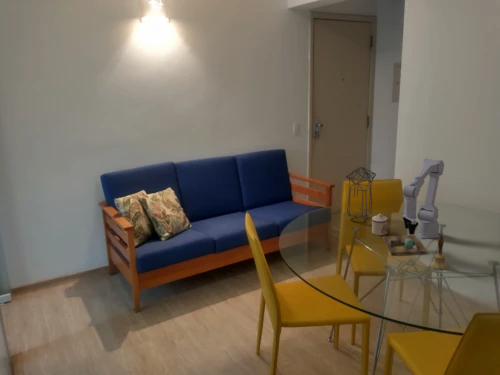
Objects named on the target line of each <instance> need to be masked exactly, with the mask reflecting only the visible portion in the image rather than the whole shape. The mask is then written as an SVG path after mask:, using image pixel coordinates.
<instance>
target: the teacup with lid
mask: <svg viewBox="0 0 500 375" xmlns="http://www.w3.org/2000/svg"><path fill="white" fill-rule="evenodd" d="M388 220H389V219H388V217H387V216H385V215H382V214H381V213H378V214H377V215H374V216H372V217H371V232H372V234H373V235H375V236H385V235H387V234H388Z"/></svg>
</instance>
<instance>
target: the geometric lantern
mask: <svg viewBox="0 0 500 375" xmlns="http://www.w3.org/2000/svg"><path fill="white" fill-rule="evenodd" d="M362 174H363V175H362ZM376 175H377V173H375V172H373V171H371V170H370V169H367V168H366V167H363V166H359V167H356V169H354V170H352V171H351V172H350V173H348V174H347V175H345V178H347V179H348V188H349V190H348V198H347V205H346V206H347V208H346V215H347V216H349V217H350V216H351V217H354V216H356V217H357V218H360V219H364V220H365V219H366V217H367V218H368V217H369V215H371V214H372V213H373V198H372V196H373V195H372V185H373V181H374V179H375V178H376ZM356 176H357V178H355V177H356ZM360 176H361V178H359V177H360ZM363 178H364V179H363ZM355 180H356V182H355ZM366 181H368V184H364V186H365V189H364V190H363V188H362V186H363V184H361V183H364V182H366ZM351 182H352V184H351ZM353 186H354V188H352V187H353ZM356 187H357V189H356ZM359 188H360V189H359ZM351 190H352V191H353V197H354V196H355V194H356V197H357V196H358V197H359V191H360V192H362V196H361V197H362V198H361V201H362V203H361V209H362V210H361V214H362V215H360V216H361V217H360V216H359V215H356V214H355V215H353V214H351V211H350V210H351V208H350V207H351V192H352V191H351ZM368 190H369V198H370V201H369V202H368V203H365V209H364V198H365V200H367V191H368ZM364 196H365V197H364ZM367 204H369V206H367ZM367 207H369V208H368V209H367ZM363 209H364V210H363ZM364 211H365V215H363V214H364ZM367 213H368V214H367ZM356 217H355V218H356Z"/></svg>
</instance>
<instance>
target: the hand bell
mask: <svg viewBox="0 0 500 375" xmlns="http://www.w3.org/2000/svg"><path fill="white" fill-rule="evenodd" d="M444 242H445V241H444V238H443V235H439V238H437V246H438V249H437V250H438V251H437V253H436V254H435V255H434V258H433V261H431V262H430V264H429V265H430V267H431V266H432V267H431V268H433V269H434V270H435V269H436V270H447V269H448V268H449V264H448V263H447V262H446V261H447V260H446V256H445V255H444V254H443V246H444Z"/></svg>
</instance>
